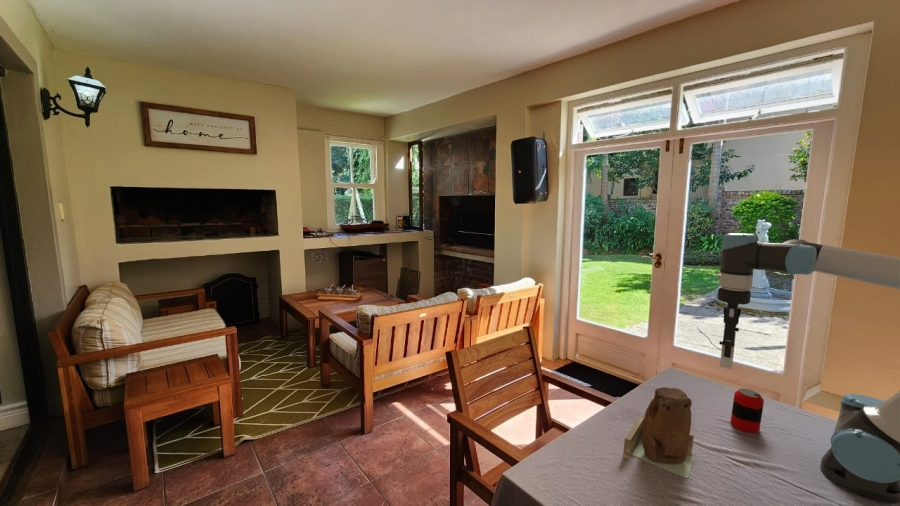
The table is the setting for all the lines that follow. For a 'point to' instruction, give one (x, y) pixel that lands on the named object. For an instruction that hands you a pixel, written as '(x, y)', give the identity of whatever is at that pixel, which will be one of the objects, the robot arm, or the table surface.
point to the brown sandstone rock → (667, 426)
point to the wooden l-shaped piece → (637, 433)
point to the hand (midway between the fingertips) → (727, 359)
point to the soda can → (747, 410)
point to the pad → (678, 468)
